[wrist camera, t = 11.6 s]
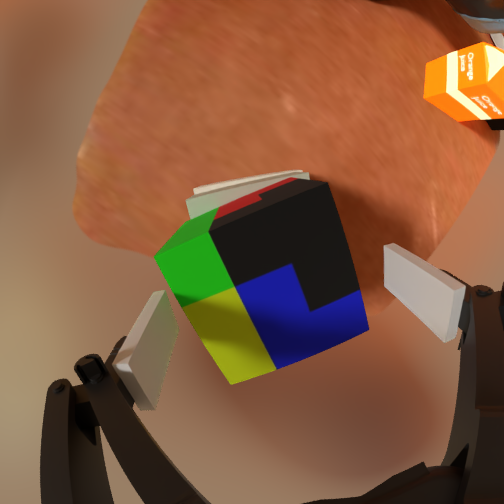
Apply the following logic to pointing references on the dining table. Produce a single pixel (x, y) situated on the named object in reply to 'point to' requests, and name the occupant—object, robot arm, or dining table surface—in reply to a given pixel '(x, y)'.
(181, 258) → the puzzle toy
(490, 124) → the battery
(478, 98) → the orange juice
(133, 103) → the dining table surface
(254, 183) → the tower top
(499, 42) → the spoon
